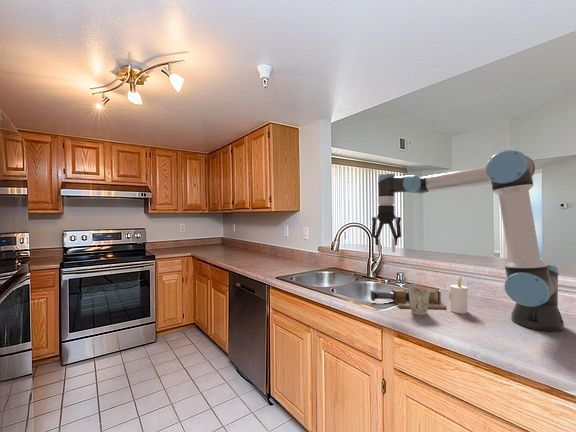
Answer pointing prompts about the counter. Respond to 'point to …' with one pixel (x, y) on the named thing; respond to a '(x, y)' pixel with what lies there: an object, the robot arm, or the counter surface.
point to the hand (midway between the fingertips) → (386, 251)
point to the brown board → (400, 299)
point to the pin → (384, 295)
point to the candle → (458, 298)
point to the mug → (419, 300)
